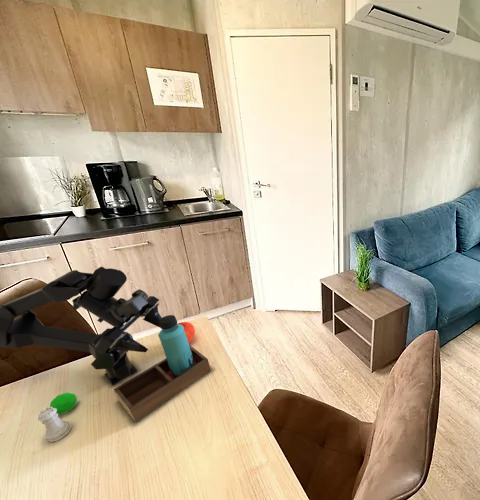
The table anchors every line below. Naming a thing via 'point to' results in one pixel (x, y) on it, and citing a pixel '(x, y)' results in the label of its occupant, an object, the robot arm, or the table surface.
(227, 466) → the table surface
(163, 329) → the beverage bottle
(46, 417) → the rook chess piece
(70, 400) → the polyhedron
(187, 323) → the apple
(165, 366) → the divided wooden tray
